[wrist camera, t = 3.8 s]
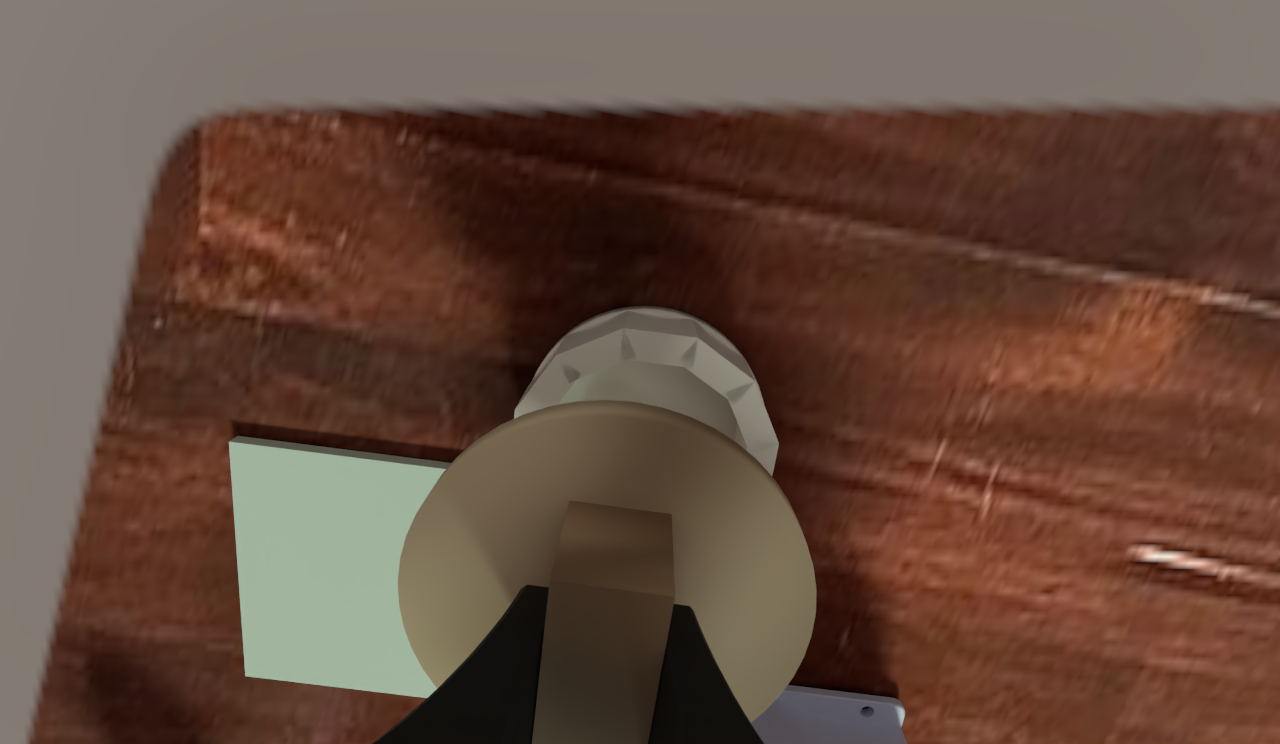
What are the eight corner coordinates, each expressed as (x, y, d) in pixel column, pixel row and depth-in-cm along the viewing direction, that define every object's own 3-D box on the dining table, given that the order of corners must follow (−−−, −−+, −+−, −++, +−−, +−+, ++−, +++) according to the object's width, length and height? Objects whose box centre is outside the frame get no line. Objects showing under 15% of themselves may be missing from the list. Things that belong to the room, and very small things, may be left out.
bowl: (783, 322, 21) (802, 348, 18) (740, 537, 24) (751, 588, 21) (537, 290, 21) (518, 310, 18) (519, 509, 24) (500, 557, 21)
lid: (850, 431, 13) (912, 520, 10) (764, 757, 16) (791, 907, 13) (416, 372, 13) (339, 443, 10) (406, 712, 16) (344, 853, 12)
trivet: (522, 472, 23) (519, 478, 23) (504, 697, 26) (501, 706, 26) (237, 435, 23) (228, 441, 22) (252, 666, 26) (245, 675, 25)
